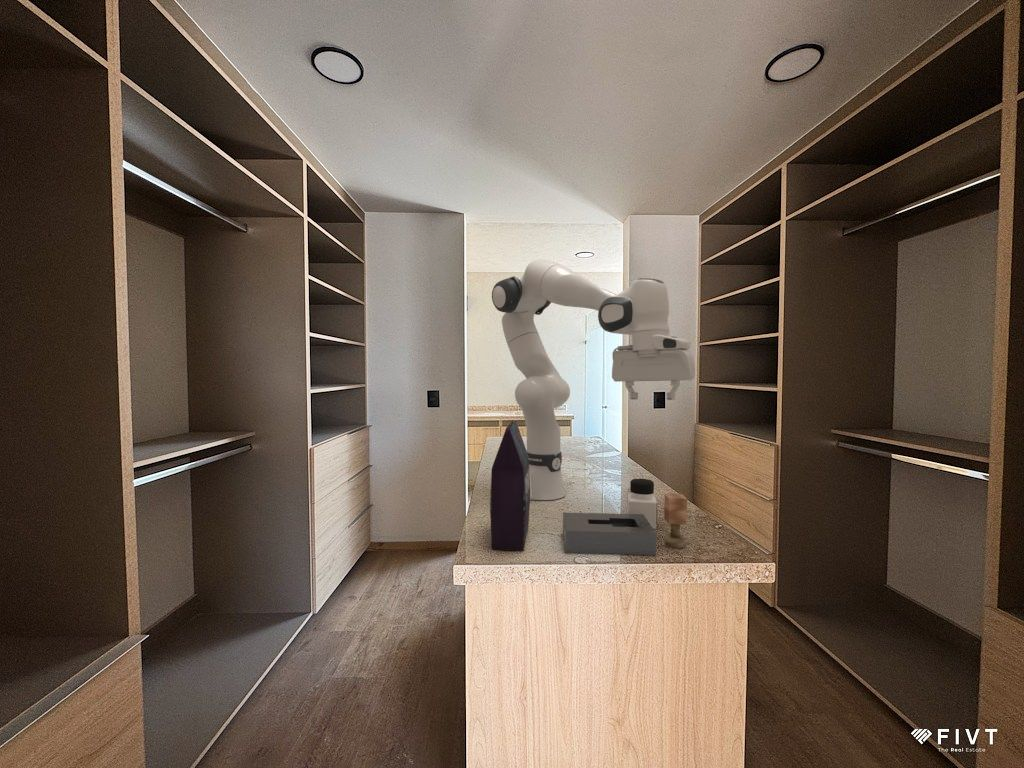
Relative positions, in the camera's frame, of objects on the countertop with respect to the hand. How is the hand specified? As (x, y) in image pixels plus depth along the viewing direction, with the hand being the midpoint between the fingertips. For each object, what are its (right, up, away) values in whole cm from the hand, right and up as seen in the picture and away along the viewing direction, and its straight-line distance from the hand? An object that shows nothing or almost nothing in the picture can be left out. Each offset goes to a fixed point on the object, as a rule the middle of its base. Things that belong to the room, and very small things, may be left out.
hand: (652, 399), depth 112 cm
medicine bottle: (0, -34, +9) cm, 35 cm away
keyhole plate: (-12, -34, -4) cm, 36 cm away
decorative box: (-35, -34, -2) cm, 49 cm away
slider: (+4, -34, -5) cm, 35 cm away
